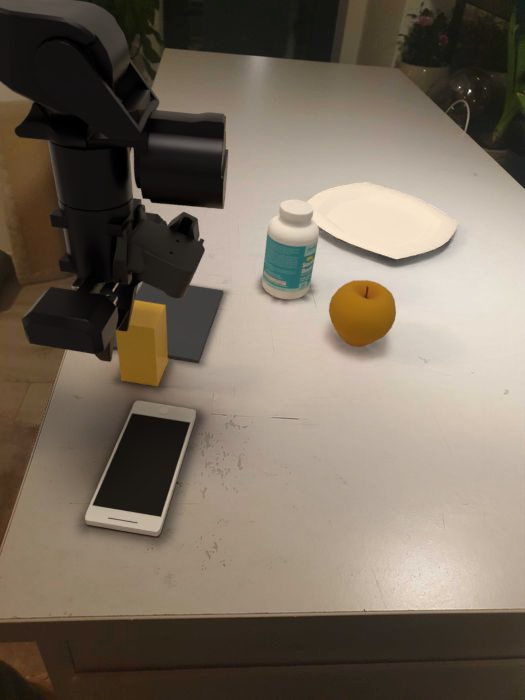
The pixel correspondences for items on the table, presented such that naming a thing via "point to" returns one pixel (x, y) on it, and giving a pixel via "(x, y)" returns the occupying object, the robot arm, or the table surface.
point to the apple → (362, 312)
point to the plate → (381, 220)
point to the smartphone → (142, 469)
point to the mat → (184, 319)
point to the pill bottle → (290, 250)
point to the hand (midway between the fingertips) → (114, 344)
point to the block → (144, 344)
